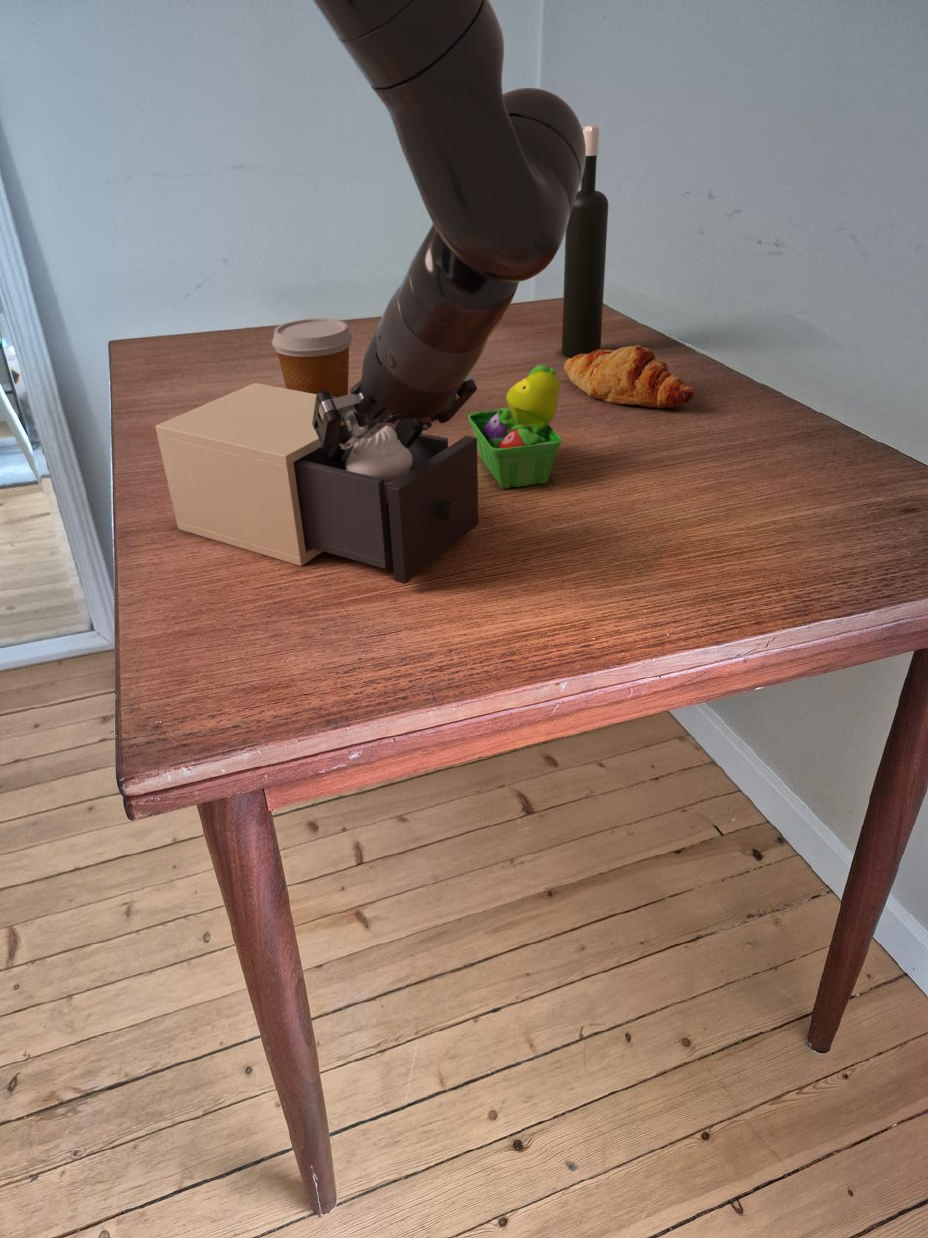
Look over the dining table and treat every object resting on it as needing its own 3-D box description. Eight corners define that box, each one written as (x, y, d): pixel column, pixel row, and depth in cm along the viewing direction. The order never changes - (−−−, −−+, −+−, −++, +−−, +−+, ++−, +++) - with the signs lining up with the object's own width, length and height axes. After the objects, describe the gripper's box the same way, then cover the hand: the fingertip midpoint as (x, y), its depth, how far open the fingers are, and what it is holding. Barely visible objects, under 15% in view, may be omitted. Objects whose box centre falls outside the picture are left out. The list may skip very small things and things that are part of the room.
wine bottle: (559, 348, 137) (565, 125, 121) (596, 346, 138) (608, 123, 121) (564, 359, 132) (572, 128, 116) (603, 357, 133) (616, 127, 116)
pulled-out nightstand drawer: (489, 527, 86) (488, 439, 81) (417, 587, 77) (411, 492, 72) (356, 494, 93) (348, 411, 88) (275, 546, 84) (261, 456, 79)
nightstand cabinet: (387, 507, 92) (379, 406, 86) (301, 566, 82) (285, 456, 76) (270, 478, 99) (255, 382, 93) (177, 529, 89) (154, 425, 83)
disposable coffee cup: (270, 424, 113) (255, 327, 107) (334, 406, 118) (324, 312, 112) (308, 445, 107) (295, 344, 100) (375, 425, 112) (366, 328, 105)
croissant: (550, 406, 126) (532, 361, 120) (593, 358, 128) (577, 312, 122) (676, 442, 112) (662, 394, 106) (721, 388, 115) (709, 338, 109)
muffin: (426, 488, 83) (422, 415, 80) (397, 515, 79) (391, 440, 75) (367, 479, 86) (360, 408, 82) (335, 505, 81) (326, 431, 77)
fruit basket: (466, 455, 103) (464, 357, 97) (539, 446, 105) (542, 349, 99) (493, 496, 94) (492, 390, 88) (573, 485, 95) (578, 381, 89)
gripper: (489, 286, 70) (422, 395, 85) (317, 315, 64) (279, 426, 79) (527, 371, 69) (453, 466, 84) (356, 409, 63) (310, 503, 78)
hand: (369, 446), depth 81 cm, fingers closed on muffin, 6 cm apart
